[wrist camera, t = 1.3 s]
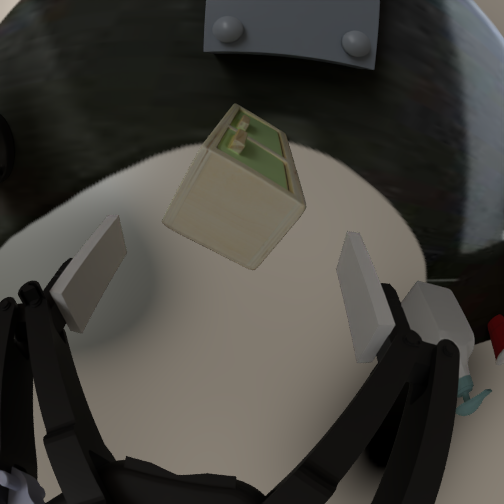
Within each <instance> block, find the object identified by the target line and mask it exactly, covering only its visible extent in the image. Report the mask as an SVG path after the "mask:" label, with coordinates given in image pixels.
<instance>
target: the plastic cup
mask: <svg viewBox="0 0 504 504" xmlns="http://www.w3.org/2000/svg"><path fill="white" fill-rule="evenodd" d="M488 331H489V334H490V339H491V342H492V346H493V349H494V354H495V358H496V365H501V364H503V363H504V317H503V316H502V315H497V316H495V317H494V318H493V319H491V321H490V322H489V323H488Z"/></svg>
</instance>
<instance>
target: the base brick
mask: <svg viewBox="0 0 504 504" xmlns="http://www.w3.org/2000/svg"><path fill="white" fill-rule="evenodd" d="M379 9H380V0H206V13H205V30H204V52H207V53H212V54H253V55H270V56H281V57H291V58H300V59H308V60H315V61H321V62H327V63H333V64H338V65H344V66H349V67H353V68H358V69H370V70H374V67H375V58H376V49H377V38H378V25H379Z"/></svg>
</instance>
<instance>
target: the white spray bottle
mask: <svg viewBox="0 0 504 504" xmlns="http://www.w3.org/2000/svg"><path fill="white" fill-rule="evenodd" d="M401 305H402V306H401V307H403V310H404V313H405V315H406V318H407V321H408V323H409V326H410V329H411V330H414V331H415V332H417V333H418V334H419V335H420V337H421V338H422V341H424V342H428V343H431V344H435V345H437V344H438V342H439V341H440V340H442V339H449V340H451V341H453V342H454V343H455V344H456V345H457V347H458V348H459V352H460V366H459V383H458V394H457V397H462V396H463V400H464V403H463V404H461V405H460V406H459V407H457V408H456V414H458V415H461V416H466V415H470V414H472V413H473V412H475V411H476V409H477V408H478V407H479V406H480V404H481V403H482V401H483V399H484V398H485V397H486V396H487V395H488V394H489V393H490V392H492V390H491V389H486V390H484V391H483V392H482V393H480V394H479V395H477V396H475V397H474V398H472V399H470V397H469V394H468V393H469V392H470V391H472V387H473V382H472V379H471V376H470V372H469V368H468V359H469V356H470V354H471V353H472V351H473V348H474V341H475V340H474V334H473V332H472V330H471V328H470V326H469V323H468V321H467V319H466V317H465V315H464V313H463V311H462V310H461V308H460V306H459V304H458V302H457V300H456V298H455V296H454V295H453V293H452V291H451V290H450V289H447V288H444V287H440V286H436V285H432V284H428V283H425V282H421V281H417V282H416V283H415V285H414V286H413V288H412V289H411V290H410V292H409V293H408V294H407V296H406V297H405V298H404V300H403V301H402V302H401Z"/></svg>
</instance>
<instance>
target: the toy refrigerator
mask: <svg viewBox="0 0 504 504" xmlns="http://www.w3.org/2000/svg"><path fill="white" fill-rule="evenodd" d="M305 209H306V202H305V198H304V195H303V191H302V188H301V184H300V181H299V177H298V174H297V170H296V167H295V164H294V160H293V157H292V153H291V150H290V146H289V143H288V140H287V136H286V134H285V133H284V132H282V131H281V130H279V129H277V128H276V127H274V126H273V125H271V124H270V123H268V122H266V121H265V120H263V119H261V118H260V117H258V116H256V115H255V114H253V113H251V112H250V111H248V110H246V109H245V108H243V107H241V106H239V105H238V104H233V106H232V107H231V108H230V110H229V111H228V112H227V113H226V115H225V116H224V117H223V119H222V120H221V121H220V122H219V124H218V125H217V126H216V127H215V129H214V130H213V131H212V133H211V134H210V135H209V137H208V138H207V139H206V141H205V142H204V143H203V145H202V146H201V148H200V150H199V151H198V153H197V155H196V157H195V158H194V160H193V162H192V164H191V166H190V167H189V169H188V171H187V173H186V175H185V177H184V178H183V180H182V182H181V184H180V186H179V188H178V190H177V192H176V194H175V196H174V197H173V199H172V201H171V203H170V206H169V208H168V209H167V211H166V214H165V216H164V218H163V219H162V223H163V224H164V225H165V226H167V227H168V228H170V229H172V230H173V231H175V232H177V233H178V234H180V235H182V236H184V237H186V238H188V239H190V240H192V241H194V242H196V243H198V244H200V245H202V246H204V247H206V248H209V249H210V250H212V251H214V252H216V253H218V254H220V255H222V256H224V257H226V258H228V259H230V260H232V261H234V262H236V263H238V264H240V265H242V266H244V267H246V268H248V269H251V270H255V269H256V268H257V267H258V266H259V265H260V264H261V263H262V262H263V261H264V259H265V258H266V257H267V256H268V255H269V253H270V252H271V251H272V250H273V249H274V248H275V246H276V245H277V244H278V243H279V241H280V240H281V239H282V238H283V237H284V236H285V235H286V233H287V232H288V231H289V229H290V228H291V227H292V226H293V225H294V224H295V223H296V221H297V220H298V219H299V218H300V216H301V215H302V214H303V212H304V211H305Z"/></svg>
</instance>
